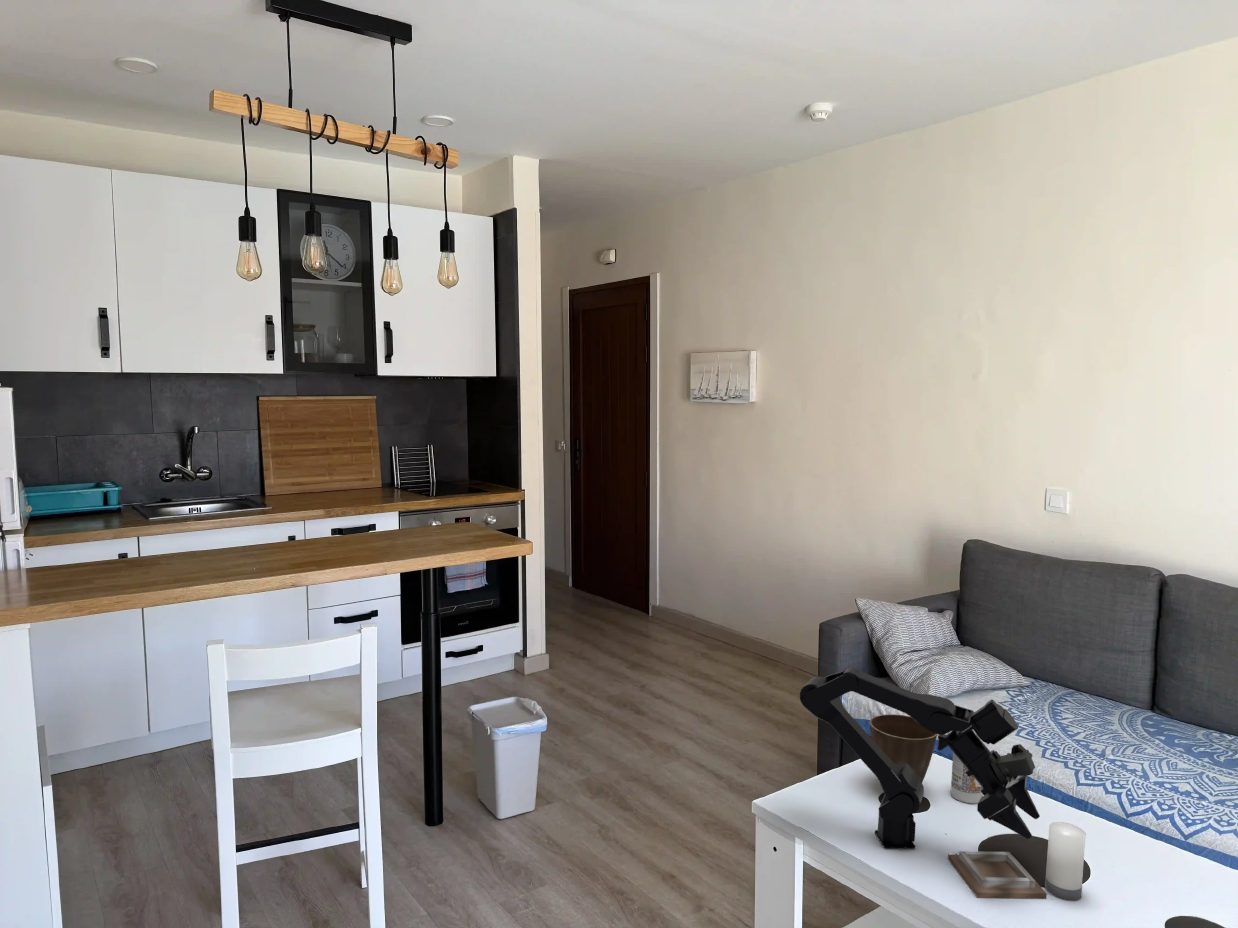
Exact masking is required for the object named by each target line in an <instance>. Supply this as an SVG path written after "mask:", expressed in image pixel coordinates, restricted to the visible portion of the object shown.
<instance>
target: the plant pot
mask: <svg viewBox="0 0 1238 928" xmlns="http://www.w3.org/2000/svg"><path fill="white" fill-rule="evenodd" d="M869 729H870V737H871V738H872V740H873V741H874V742H875V743H876V744H877V745H878V746H879V747H880V748H881V750H882V751H883V752H884V753H885V754H886V755H887V756H888V757H889V758H890V760H891V761H892V762H894V763H895V764H897V765H899V766H901V767H903V766H904V765H905V764H906V763H907V764H908V765H909V766H910V767H911V769H912V770H913V772H914V773H915V774H916V775H918V776H920V777H921V780H920V781H921V783H922V784H923V781H924V780H925V777H926V775H927V772H928V769H929V767H930V763H931V760H932V756H933V753H934V751H935V746H936V741H937V738H938V734H935V733H933V732H931V731H930V730H928V729H926V728H925V727H923V726H921V725H920V724H919V723H917V722H916V721H915V720H914V719H913V718H912V717H910V716H909V715H903V714H896V713H895V714H892V713H891V714H888V713H886V714H879V715H875V716H873V717H872V718H871V719H870V720H869Z"/></svg>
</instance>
